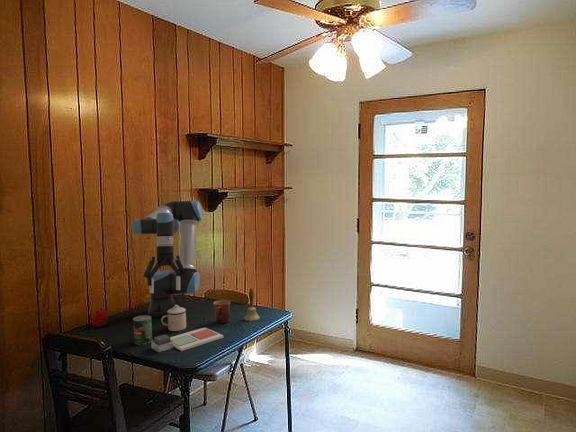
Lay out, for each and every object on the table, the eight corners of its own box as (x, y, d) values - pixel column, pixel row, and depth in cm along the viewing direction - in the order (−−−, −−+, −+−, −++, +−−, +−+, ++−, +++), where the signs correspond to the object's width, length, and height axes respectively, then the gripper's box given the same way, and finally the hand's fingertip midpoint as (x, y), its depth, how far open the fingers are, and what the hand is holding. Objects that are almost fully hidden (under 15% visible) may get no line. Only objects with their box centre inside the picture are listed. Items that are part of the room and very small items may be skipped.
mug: (217, 318, 218) (216, 299, 217) (233, 319, 216) (232, 300, 215) (208, 326, 206) (208, 306, 206) (225, 327, 205) (224, 307, 204)
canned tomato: (154, 338, 192) (153, 314, 192) (149, 344, 185) (148, 320, 184) (137, 338, 192) (136, 315, 191) (131, 345, 184) (130, 320, 184)
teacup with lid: (185, 324, 211) (184, 301, 210) (188, 329, 203) (187, 306, 202) (160, 327, 206) (159, 305, 205) (163, 333, 198) (161, 309, 197)
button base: (151, 348, 180) (151, 341, 180) (166, 343, 185) (166, 337, 185) (158, 352, 175) (158, 345, 175) (174, 348, 180) (173, 341, 179)
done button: (154, 344, 180) (154, 337, 180) (165, 341, 183) (164, 334, 183) (159, 347, 176) (159, 340, 176) (170, 344, 180) (170, 337, 179)
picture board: (163, 341, 188) (163, 339, 188) (204, 329, 202) (204, 327, 202) (181, 351, 176) (181, 348, 176) (223, 337, 191) (223, 335, 191)
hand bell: (244, 316, 221) (243, 287, 220) (259, 315, 222) (258, 286, 220) (243, 321, 213) (242, 291, 211) (259, 320, 213) (259, 290, 212)
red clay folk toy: (101, 323, 216) (99, 294, 215) (112, 324, 214) (110, 295, 213) (90, 327, 209) (88, 298, 208) (101, 329, 207) (99, 299, 206)
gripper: (143, 246, 182) (143, 294, 181) (192, 245, 200) (192, 289, 198) (135, 246, 187) (135, 293, 186) (184, 245, 205) (184, 288, 204)
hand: (165, 291), depth 192 cm, fingers open, 13 cm apart
